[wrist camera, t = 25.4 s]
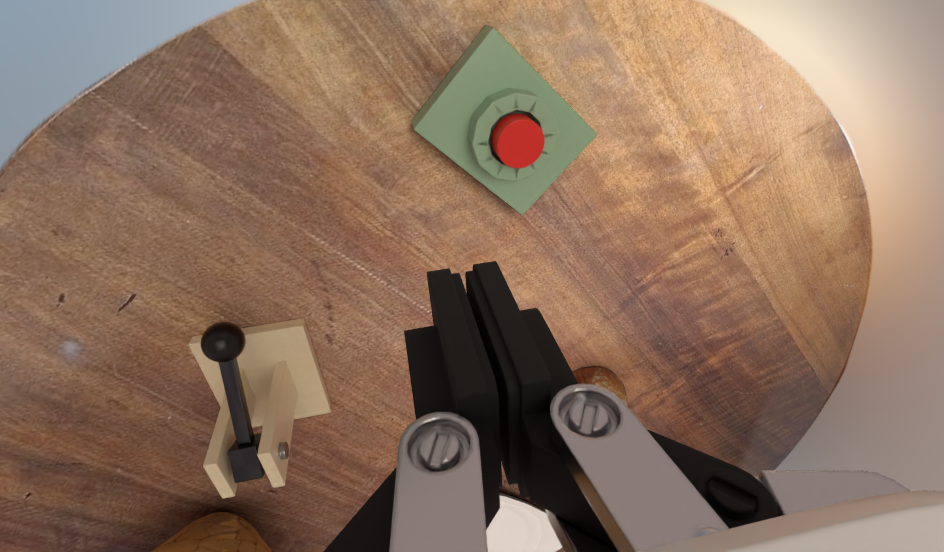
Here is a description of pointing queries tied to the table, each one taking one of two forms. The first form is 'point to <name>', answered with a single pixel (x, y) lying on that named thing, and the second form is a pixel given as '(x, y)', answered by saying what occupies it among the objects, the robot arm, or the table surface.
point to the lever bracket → (265, 397)
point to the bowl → (216, 536)
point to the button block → (486, 103)
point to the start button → (518, 140)
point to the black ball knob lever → (234, 398)
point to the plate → (520, 528)
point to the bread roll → (602, 380)
